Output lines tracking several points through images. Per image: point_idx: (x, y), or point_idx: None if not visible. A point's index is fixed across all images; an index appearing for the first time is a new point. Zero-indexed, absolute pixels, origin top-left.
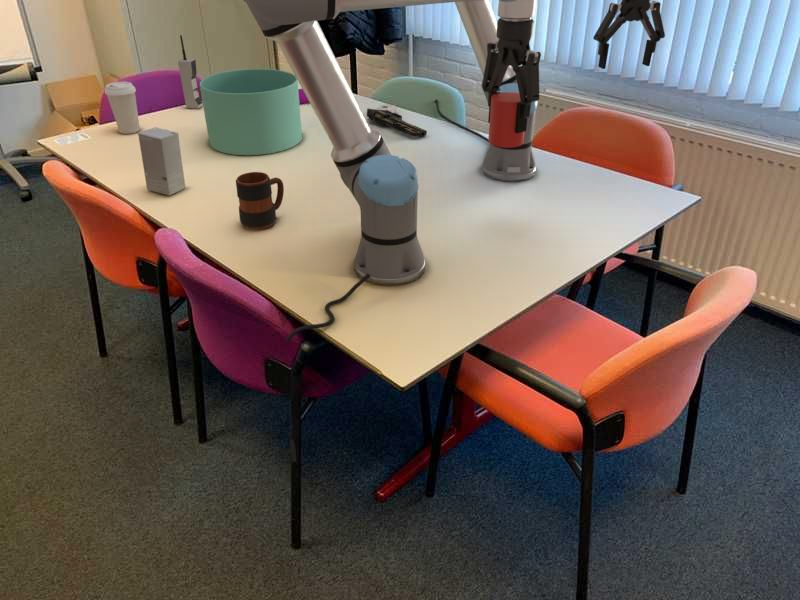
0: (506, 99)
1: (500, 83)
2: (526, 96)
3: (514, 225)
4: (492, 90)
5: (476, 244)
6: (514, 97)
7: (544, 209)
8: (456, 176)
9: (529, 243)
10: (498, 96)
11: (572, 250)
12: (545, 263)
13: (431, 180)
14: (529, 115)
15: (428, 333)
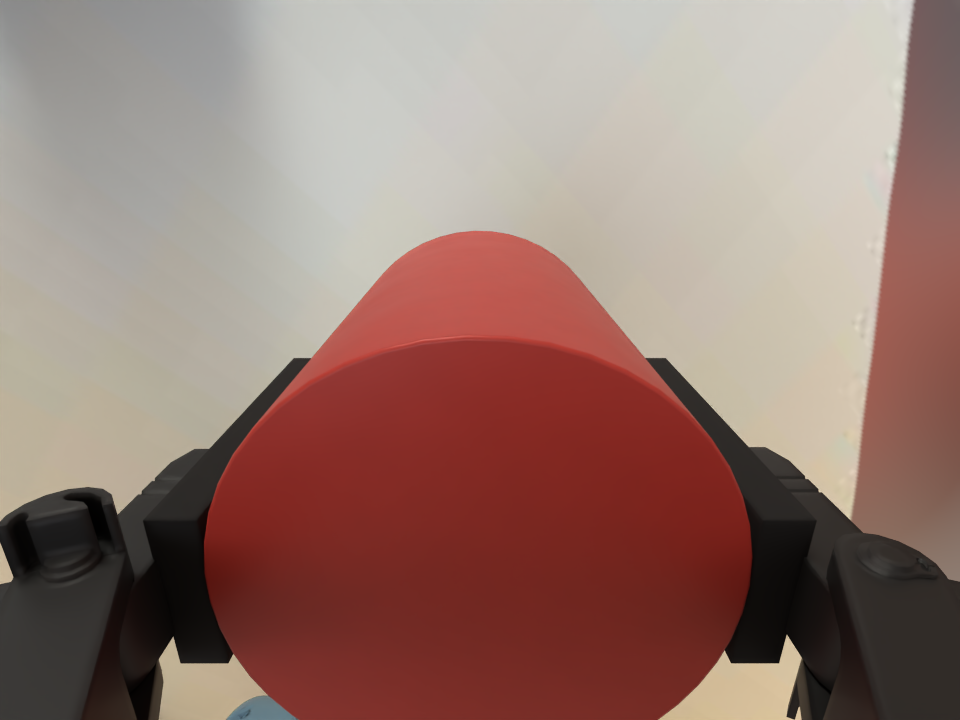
0: (535, 684)
1: (102, 676)
2: (631, 388)
3: (534, 228)
4: (155, 678)
5: None
6: (540, 560)
7: (507, 8)
8: (16, 84)
9: (658, 284)
10: (358, 673)
11: (791, 202)
12: (772, 337)
13: (20, 211)
14: (786, 461)
15: (755, 705)
